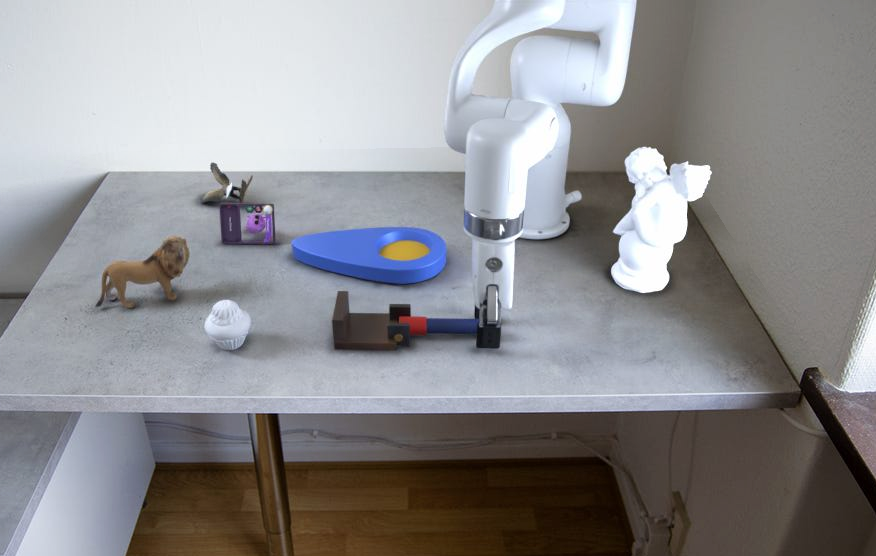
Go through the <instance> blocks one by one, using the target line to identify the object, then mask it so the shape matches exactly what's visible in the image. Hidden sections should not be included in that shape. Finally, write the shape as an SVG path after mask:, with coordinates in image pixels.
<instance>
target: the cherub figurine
mask: <svg viewBox="0 0 876 556" xmlns="http://www.w3.org/2000/svg"><path fill="white" fill-rule="evenodd" d="M624 166H625V172H626V175H627V177H628V181H629V182H630V183H632V184H634V190H635V195H634V197H633V198H632V200H631V208H630V209H629V211H628V212H627V213H626V214H625V215H624V216H623V217H622V218H621V219H620V221H619V222H618V223H617V224H615V227H614V229H613V230H612V233H614V234H615V235H618V236H621V237H620V240H619V242H618V252H619V257H618V260H617V261H616V262H615V263H614V264H613V265H612V266H611V269H610V274H611V277H612V279H613V280H614V282H615V283H616V284H617V285H618V286H619V287H621V288H623V289H625V290H629V291H634V292H638V293H641V294H642V293H643V294H646V293H653V292H658V291H662V290H663V289H665V287H666V286H667V284H668V283H669V281H670V274H669V271H668V270H667V264H668V262H669V261H670V260H671V257H672V255H673V250H674V245H675V244H676V243H679V242H682V240H683V239H684V237H685V236H686V233H687V228H688V218H687V217H688V216H687V213H688V202H693V201H696V200H698V199H699V198H702V197H703V193H705V189H707V185H708V184H709V182H708V181H710V179H711V175H712V173H713V172H712V171H711V170H710V169H711V167H710V165H708V164H707V165H706V164H705V165H694V164H689V161H686V162H681V163H677V162H676V163H675V162H674V163H673V164H671V165H670V168H669V174H668V173H667V172H668V171H667V169H668V167H667V166H666V163H665V161H664V155H663V154H661V153H659V152H658V150H657V148H651V146H649V147H647V146H642V147H637V148H636V149H634V150H633V151H630V153H629V155H628V156H626V158H625V160H624Z"/></svg>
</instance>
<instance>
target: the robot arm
mask: <svg viewBox="0 0 876 556" xmlns="http://www.w3.org/2000/svg"><path fill="white" fill-rule="evenodd" d="M637 3H638V2H637V0H494V4H493V7H492V9H491V10H490V12H489V13H488V14H487V15H486V16H485V18H484V19H483V20H482V21H481V22H479V23H478V25H476V27H474V29H473V30H472V31H471V32H470V33H469V34H468V36H467V37H466V39H465V40H464V41H463V43H462V44H461V46H460V48H459V49H458V52H457V54H456V56H455V58H454V61H453V63H452V66H451V69H450V73H449V77H448V84H447V91H446V92H447V93H446V100H445V109H444V116H443V135H444V140H445V142H446V144H447V145H448V147H449V148H450V149H451V150H453V151H455V152H456V153H459V154H464V155H465V170H464V172H465V173H464V201H463V202H464V203H463V224H462V225H463V227H462V228H463V231H464V233H465V235H466V236H467V237H468V238H471V276H472V286H473V287H472V289H473V296H474V313H473V314H474V316H473V319H479V323H477V334H476V335H475V348H476V349H481V350H483V349H485V350H487V349H488V350H489V349H490V350H498V349H500V347H501V335H502V322H501V319H502V317H501V315H502V309H503V310H507V311H508V310H511V309H512V307H513V293H514V277H515V276H514V273H515V251H516V250H515V245H516V244H515V241H516V239H518V238H521V239H526V240H546V239H547V240H548V239H552V238H555V237H558V236H561V235H562V234H564V233H565V232H567V230H568V229H569V226H570V222H571V221H570V219H571V218H570V215H569V213H568V212H567V210H566V209H567V208H568V207H569V206H570V204H574V203H577V202H579V201H581V200H582V197H583V196H582V193H581V191H580V190H577V189H576V190H574V191H571V192H568V193H566V190H565V186H566V178H567V169H568V162H569V152H570V143H571V134H572V127H571V121H570V118H569V116H568V113H567V112H566V110H565V109H564V107H563V105H562V104H572V105H583V106H593V107H610V106H612V105H614V104H616V103H617V102H618V100H620V98H621V96H622V94H623V91H624V87H625V83H626V78H627V72H628V66H629V59H630V58H629V57H630V51H631V44H632V38H633V31H634V24H635V18H636V17H635V16H636V11H637ZM544 28H545V29H554V30H562V31H564V30H565V31H572V32H573V31H574V32H576V31H577V32H584V33H585V32H586V33H593V34H595V35H596V36H597V37H598V39H590V38H577V37H572V36H560V35H547V34H540V35H539V34H538V35H537V34H536V35H529V36H527V37H525V38H522V39H521V40H520V41H518V42H517V43H516V45H515V46H514V48H513V50H512V51H511V55H510V62H509V74H510V75H509V76H510V85H511V97H512V98H510V97H502V96H501V97H500V96H493V95H492V96H491V95H482V94H473V87H474V82H475V78H476V75H477V71H478V70H479V67H480V66H481V64H482V62H483V61H484V59H485V58H486V57H487V56H488V55H489V54H490V53H491V52H492V51H493V50H494V49H495V48H497V47H499V46H500V45H502V44H503V43H505V42H507V41H509V40H511V39H514V38H517V37H518V36H521V35H525V34H528V33H531V32H534V31H538V30H542V29H544Z"/></svg>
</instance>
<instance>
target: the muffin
mask: <svg viewBox="0 0 876 556" xmlns="http://www.w3.org/2000/svg"><path fill="white" fill-rule="evenodd" d="M251 319H252V318H251V316H250V314H249V313H248V312H247V311H246V310H244V309H241V308H240V306H239V304H238V303H237V302H235V301H234V300H231V299H222V300H219V301H217V302H216V303H214V305H213V306H212V308H211V313H210V314H209V315H208V316H207V318H206V319H205V322H204V330H205V333H207V335H208V337H209V338H210V339H211V340H212V341H213V342H214V343H215V344H216V345H217V346H218V347H219V348H221V349H222V350H225V351H234V350H237V349H239V348H240V347H242V345H243V344H244V342H245V341H246V338H247V336H248V334H249V332H250V327H251V324H252V320H251Z"/></svg>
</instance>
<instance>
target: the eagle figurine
mask: <svg viewBox="0 0 876 556" xmlns="http://www.w3.org/2000/svg"><path fill="white" fill-rule="evenodd" d="M209 169H210V171H211V173H212V175H213V178H214V180H215V181H216V182H217V183H218V184H219V185H220V186H222V187H221V188H219V189H212V190H209V191H207V192H206V194H205V195H203V196H201V197H200V199H199V202H200V203H202V204H204V203H207V202H214V203H216V202H219V201H221V200H222V199H223V198H224V197H225V199H226V200H227V199H228V197H230V198H233V199H235V200H239V201H238V203H244V199H245V196H246V192H247V189H248V188H249V186H250V184H251V183H252V181H253V177H254V175H252V174H251V176H250V177H249V179H248V180H247V182H246V180H244V179H243V178H242V179H241V184H240V186H241V187H239V186H235V185H234V184H233V182H232V181H231V183H230V178H229V177H228V175H226V173H224V172H223V171H221V169H220V168H219V166H218V163H216V162H210V165H209ZM235 191H237V192H238V193H239V195H237V194H236V193H234V192H235Z"/></svg>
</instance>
